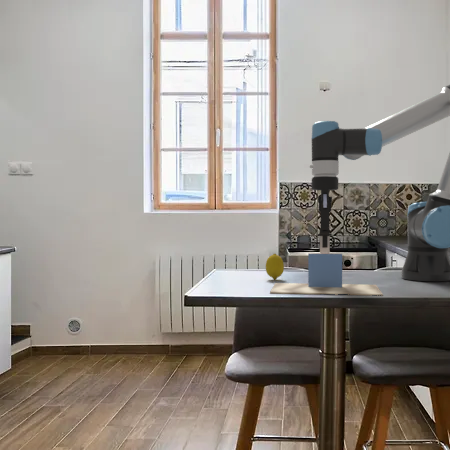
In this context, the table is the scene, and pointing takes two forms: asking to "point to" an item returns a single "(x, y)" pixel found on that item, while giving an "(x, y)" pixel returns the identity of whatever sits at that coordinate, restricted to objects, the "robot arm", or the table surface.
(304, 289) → the board
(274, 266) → the lemon
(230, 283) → the table surface
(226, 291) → the table surface
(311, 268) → the tile
